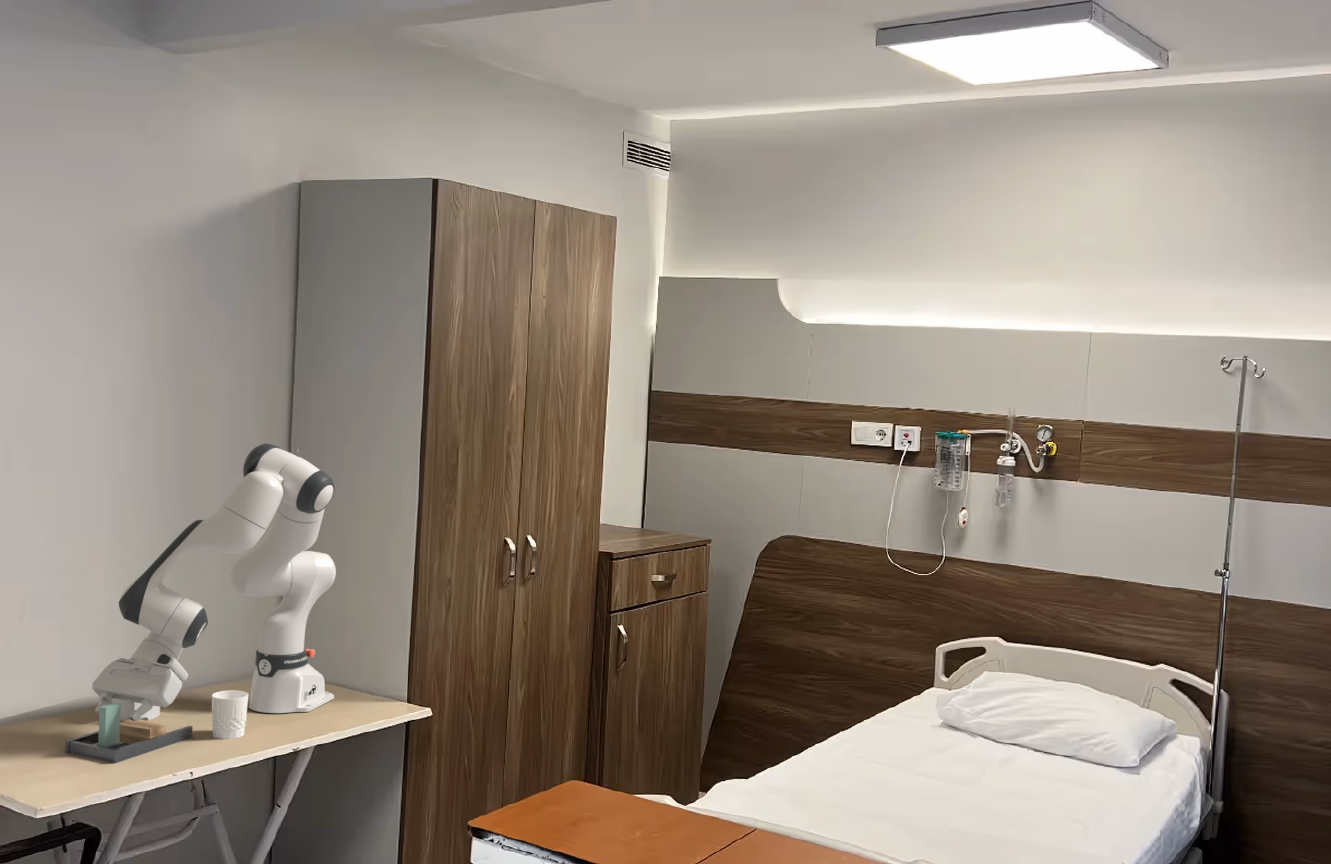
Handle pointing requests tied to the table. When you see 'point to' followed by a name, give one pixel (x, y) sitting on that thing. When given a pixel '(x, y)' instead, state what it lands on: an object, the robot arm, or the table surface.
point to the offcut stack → (140, 730)
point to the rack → (123, 745)
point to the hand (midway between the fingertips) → (115, 716)
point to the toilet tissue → (129, 706)
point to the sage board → (109, 724)
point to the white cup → (229, 713)
